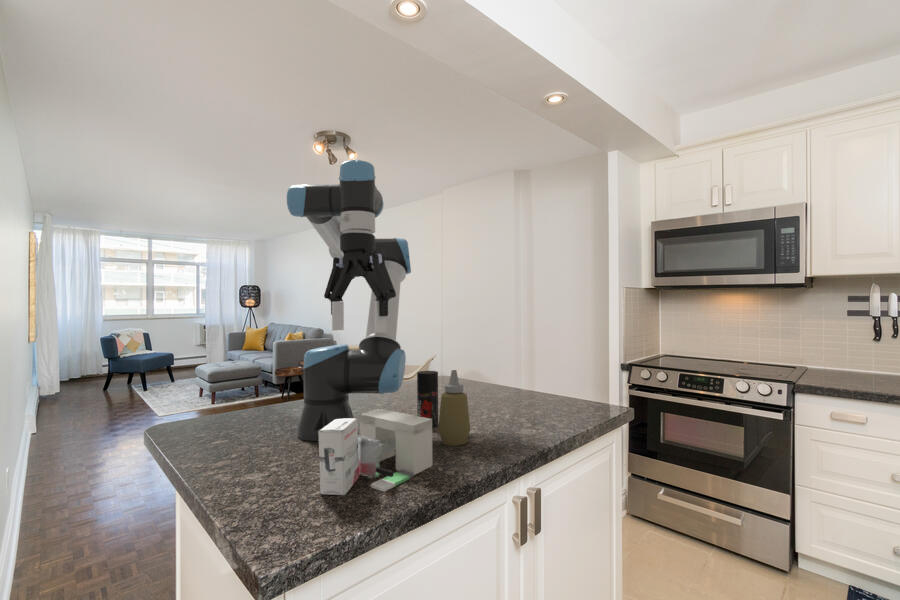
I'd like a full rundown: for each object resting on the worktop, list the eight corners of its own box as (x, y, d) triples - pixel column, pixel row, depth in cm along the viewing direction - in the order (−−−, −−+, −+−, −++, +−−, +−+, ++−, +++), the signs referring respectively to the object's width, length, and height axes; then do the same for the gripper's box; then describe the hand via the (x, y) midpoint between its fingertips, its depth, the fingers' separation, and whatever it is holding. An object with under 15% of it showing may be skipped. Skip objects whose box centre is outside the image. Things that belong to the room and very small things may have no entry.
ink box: (335, 476, 87) (335, 417, 87) (359, 477, 86) (359, 417, 86) (317, 495, 78) (317, 429, 78) (344, 496, 78) (344, 430, 78)
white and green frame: (326, 471, 89) (326, 423, 89) (379, 450, 101) (379, 408, 101) (383, 491, 79) (383, 437, 79) (434, 466, 91) (433, 419, 91)
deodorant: (442, 424, 123) (441, 371, 123) (430, 429, 118) (430, 374, 118) (425, 421, 126) (425, 370, 126) (413, 426, 121) (412, 373, 121)
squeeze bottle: (467, 449, 102) (467, 373, 102) (434, 447, 104) (434, 372, 104) (472, 438, 110) (472, 368, 110) (442, 436, 111) (441, 367, 112)
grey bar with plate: (348, 468, 88) (348, 434, 89) (381, 455, 96) (381, 423, 96) (390, 482, 81) (390, 445, 81) (422, 466, 89) (422, 433, 89)
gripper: (308, 237, 98) (308, 330, 98) (386, 225, 83) (387, 334, 83) (334, 240, 104) (335, 328, 104) (412, 230, 89) (412, 332, 89)
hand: (358, 331), depth 94 cm, fingers open, 13 cm apart
